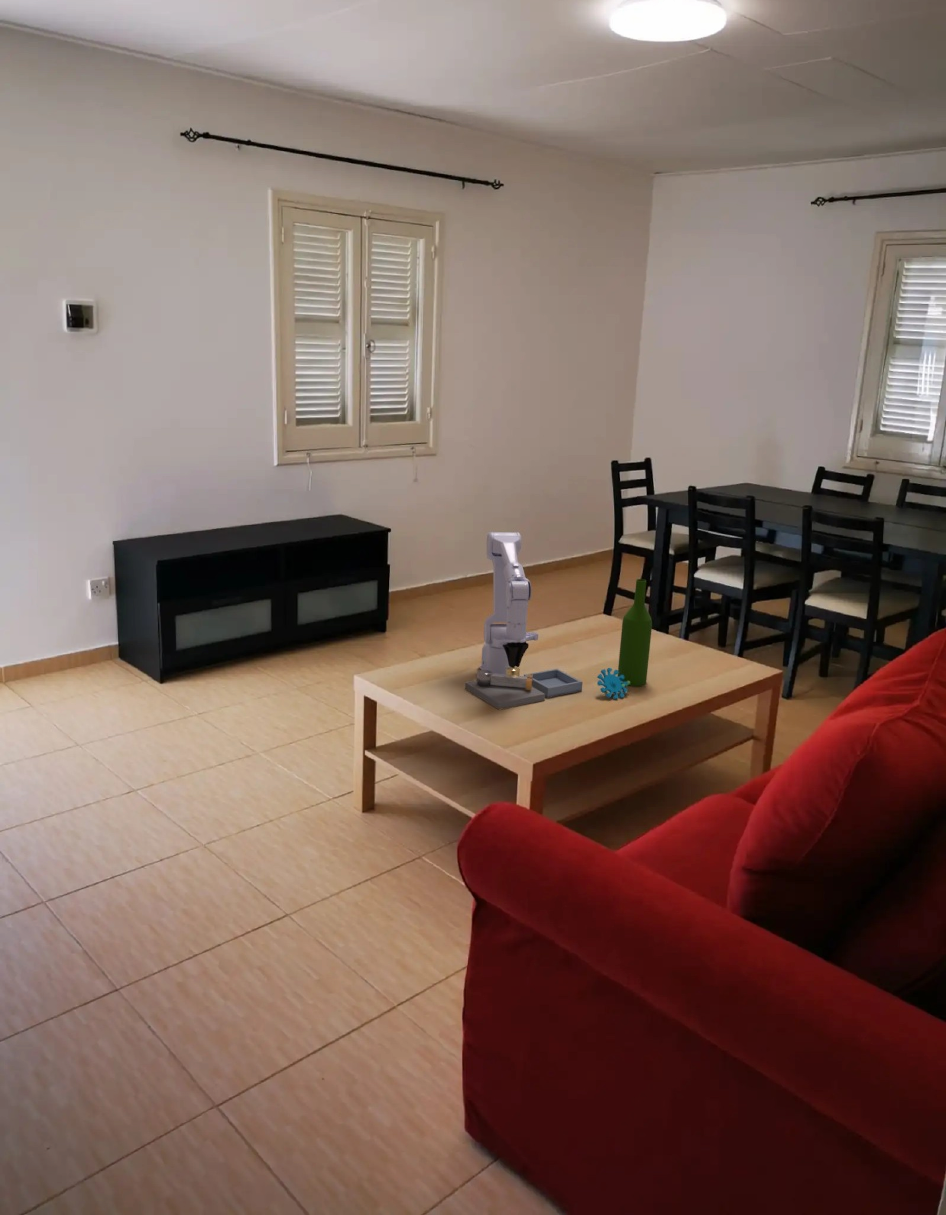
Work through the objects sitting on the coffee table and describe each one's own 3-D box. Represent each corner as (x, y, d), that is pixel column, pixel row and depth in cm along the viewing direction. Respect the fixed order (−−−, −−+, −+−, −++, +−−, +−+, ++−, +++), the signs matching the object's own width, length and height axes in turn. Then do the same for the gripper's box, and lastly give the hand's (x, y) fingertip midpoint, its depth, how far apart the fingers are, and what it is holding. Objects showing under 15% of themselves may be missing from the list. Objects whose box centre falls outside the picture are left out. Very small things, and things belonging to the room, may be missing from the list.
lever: (475, 686, 276) (476, 674, 275) (478, 679, 281) (478, 668, 280) (531, 690, 274) (531, 679, 273) (532, 684, 279) (533, 673, 278)
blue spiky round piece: (602, 696, 274) (596, 666, 279) (593, 705, 279) (586, 674, 283) (635, 698, 278) (628, 667, 283) (625, 706, 283) (618, 676, 288)
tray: (523, 683, 286) (523, 674, 285) (556, 677, 292) (557, 668, 292) (547, 697, 276) (548, 688, 275) (581, 691, 282) (582, 681, 281)
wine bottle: (623, 674, 298) (632, 574, 289) (650, 680, 294) (660, 579, 285) (612, 682, 290) (621, 580, 281) (640, 688, 286) (650, 585, 277)
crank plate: (465, 688, 280) (465, 682, 279) (510, 680, 288) (510, 674, 288) (498, 709, 265) (499, 702, 265) (544, 700, 274) (545, 693, 273)
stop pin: (502, 688, 281) (503, 668, 280) (513, 686, 283) (514, 666, 282) (510, 693, 278) (511, 672, 276) (521, 690, 280) (522, 670, 278)
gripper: (503, 628, 262) (500, 674, 266) (545, 622, 269) (542, 667, 273) (489, 621, 268) (487, 666, 271) (531, 615, 275) (528, 659, 279)
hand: (514, 666), depth 273 cm, fingers closed
